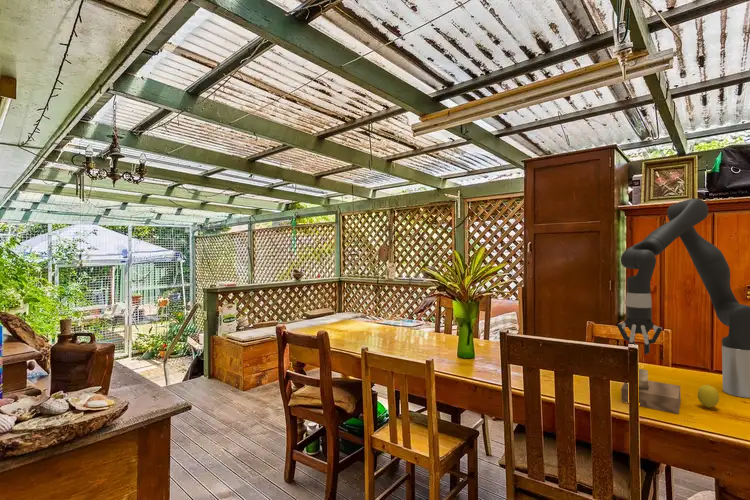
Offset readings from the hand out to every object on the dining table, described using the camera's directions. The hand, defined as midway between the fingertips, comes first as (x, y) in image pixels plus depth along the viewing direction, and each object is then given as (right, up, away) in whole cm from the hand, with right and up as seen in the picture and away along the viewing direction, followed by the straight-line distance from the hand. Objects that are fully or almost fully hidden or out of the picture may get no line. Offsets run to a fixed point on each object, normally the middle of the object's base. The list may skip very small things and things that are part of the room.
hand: (639, 353), depth 138 cm
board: (+4, -17, 0) cm, 18 cm away
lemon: (+19, -17, -7) cm, 26 cm away
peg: (0, -17, 0) cm, 17 cm away
